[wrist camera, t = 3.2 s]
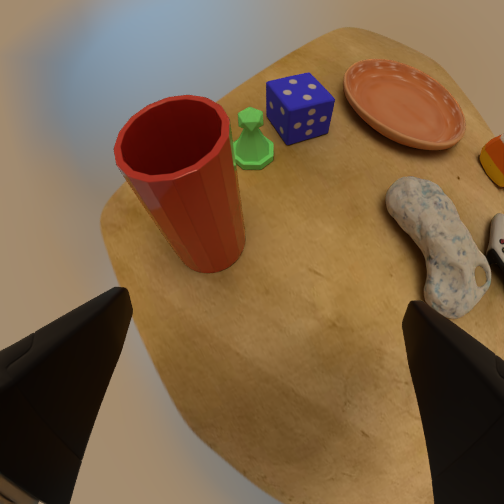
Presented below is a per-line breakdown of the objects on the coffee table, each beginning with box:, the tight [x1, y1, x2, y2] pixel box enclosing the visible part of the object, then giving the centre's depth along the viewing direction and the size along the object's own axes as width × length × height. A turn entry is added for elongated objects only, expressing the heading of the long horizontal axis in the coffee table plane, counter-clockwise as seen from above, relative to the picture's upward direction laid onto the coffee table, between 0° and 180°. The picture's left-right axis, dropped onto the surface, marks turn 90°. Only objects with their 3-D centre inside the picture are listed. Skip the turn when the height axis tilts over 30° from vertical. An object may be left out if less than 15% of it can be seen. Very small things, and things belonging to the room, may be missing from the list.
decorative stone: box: [386, 176, 491, 319], centre depth 22 cm, size 13×7×5 cm, turn 28°
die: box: [266, 73, 335, 145], centre depth 28 cm, size 5×5×5 cm
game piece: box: [233, 107, 273, 170], centre depth 27 cm, size 4×4×6 cm
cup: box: [114, 95, 245, 273], centre depth 20 cm, size 6×6×13 cm
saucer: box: [343, 59, 466, 150], centre depth 30 cm, size 16×16×3 cm
